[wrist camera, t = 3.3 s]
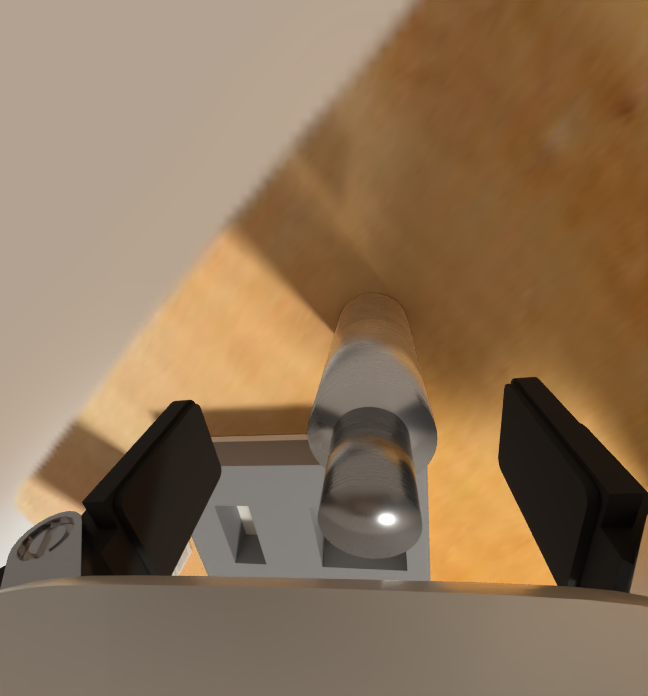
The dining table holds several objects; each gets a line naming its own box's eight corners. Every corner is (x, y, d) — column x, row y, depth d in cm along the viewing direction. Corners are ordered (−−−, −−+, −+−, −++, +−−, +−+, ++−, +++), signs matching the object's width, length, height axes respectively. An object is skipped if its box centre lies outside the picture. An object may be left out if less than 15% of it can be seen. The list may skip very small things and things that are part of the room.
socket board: (420, 431, 22) (427, 463, 19) (425, 562, 27) (430, 603, 24) (184, 437, 25) (161, 466, 22) (228, 554, 30) (214, 590, 27)
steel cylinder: (406, 289, 18) (462, 454, 7) (409, 355, 20) (458, 584, 8) (334, 296, 19) (268, 457, 7) (342, 360, 21) (299, 575, 9)
